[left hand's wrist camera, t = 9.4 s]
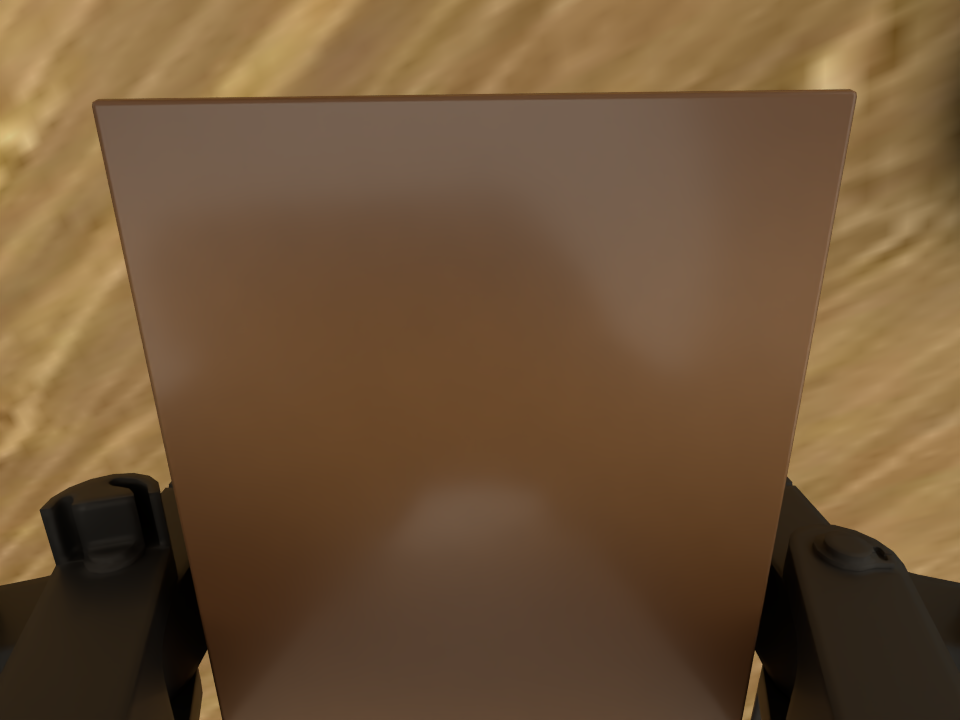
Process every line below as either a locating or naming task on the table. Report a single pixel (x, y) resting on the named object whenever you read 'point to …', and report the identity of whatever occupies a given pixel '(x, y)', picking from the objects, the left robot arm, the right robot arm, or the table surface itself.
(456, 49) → the table surface
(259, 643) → the bar
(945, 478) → the table surface
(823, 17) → the table surface
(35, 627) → the left robot arm
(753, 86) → the table surface
